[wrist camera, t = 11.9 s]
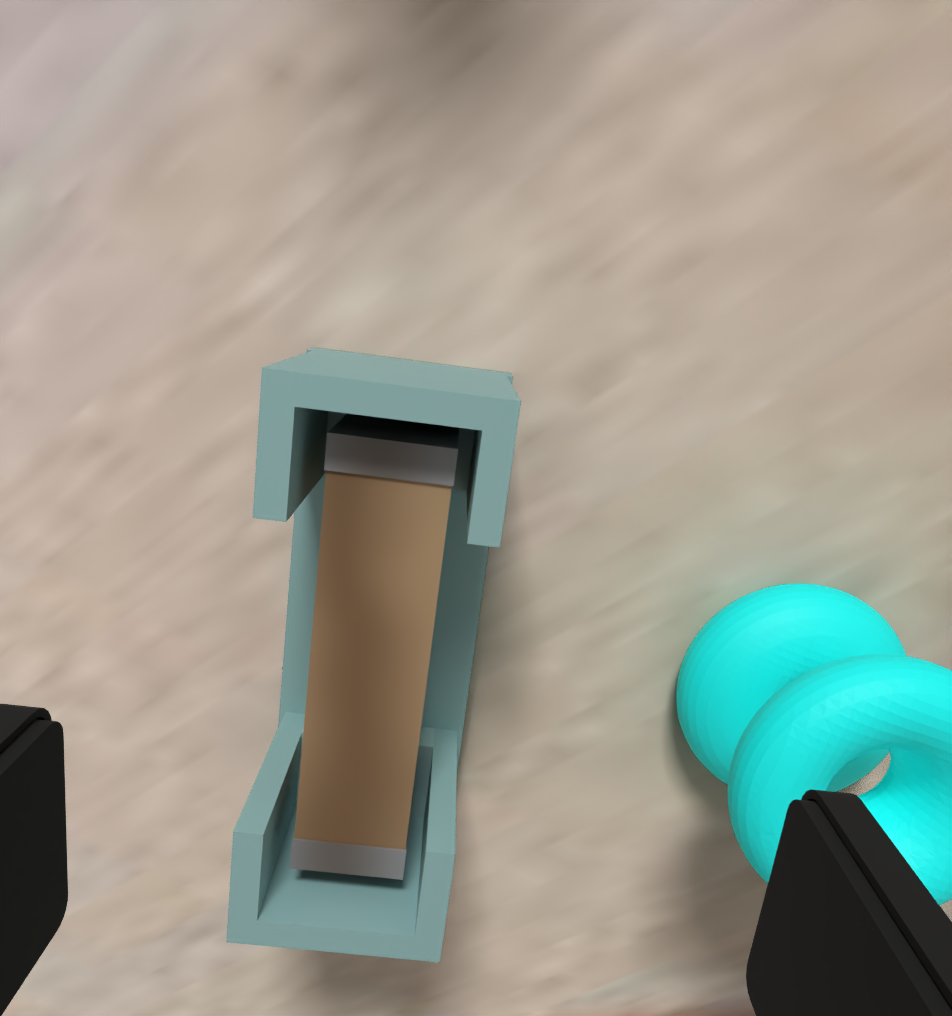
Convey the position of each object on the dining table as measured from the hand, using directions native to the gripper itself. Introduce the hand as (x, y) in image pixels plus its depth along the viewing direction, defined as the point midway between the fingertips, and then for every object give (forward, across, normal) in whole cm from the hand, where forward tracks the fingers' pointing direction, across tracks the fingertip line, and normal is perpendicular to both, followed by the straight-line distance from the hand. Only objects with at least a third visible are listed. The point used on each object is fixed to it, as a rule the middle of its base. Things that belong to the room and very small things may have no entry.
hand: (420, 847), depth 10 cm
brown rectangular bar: (+21, +2, +6) cm, 22 cm away
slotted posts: (+24, +3, +6) cm, 25 cm away
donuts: (+24, -15, +9) cm, 30 cm away
